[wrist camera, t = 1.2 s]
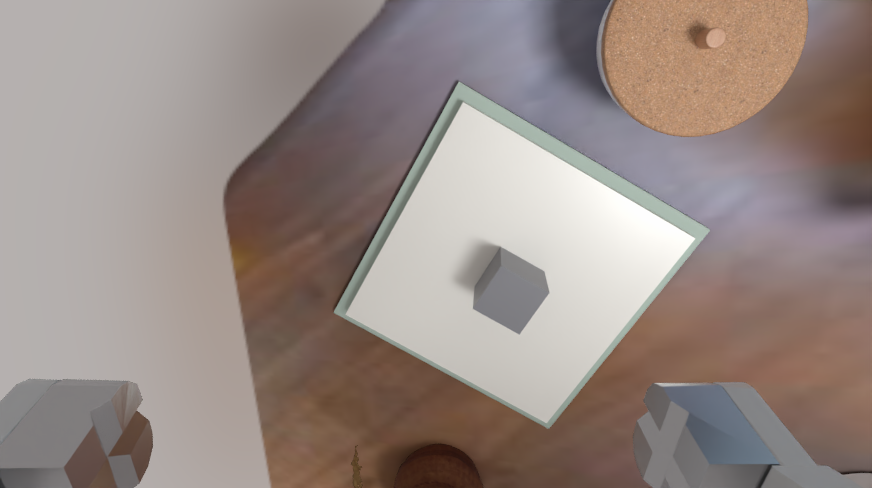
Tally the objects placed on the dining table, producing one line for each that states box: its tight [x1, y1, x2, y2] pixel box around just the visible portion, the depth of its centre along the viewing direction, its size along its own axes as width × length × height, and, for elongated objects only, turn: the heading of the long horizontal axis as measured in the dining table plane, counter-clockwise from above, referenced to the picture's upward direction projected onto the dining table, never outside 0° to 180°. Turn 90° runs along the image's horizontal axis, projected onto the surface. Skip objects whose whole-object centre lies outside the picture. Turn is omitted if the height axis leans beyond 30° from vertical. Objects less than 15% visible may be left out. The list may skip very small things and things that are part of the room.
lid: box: [345, 101, 696, 423], centre depth 40 cm, size 20×20×5 cm
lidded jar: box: [596, 0, 808, 137], centre depth 31 cm, size 11×11×9 cm
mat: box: [333, 82, 710, 429], centre depth 42 cm, size 22×22×1 cm
